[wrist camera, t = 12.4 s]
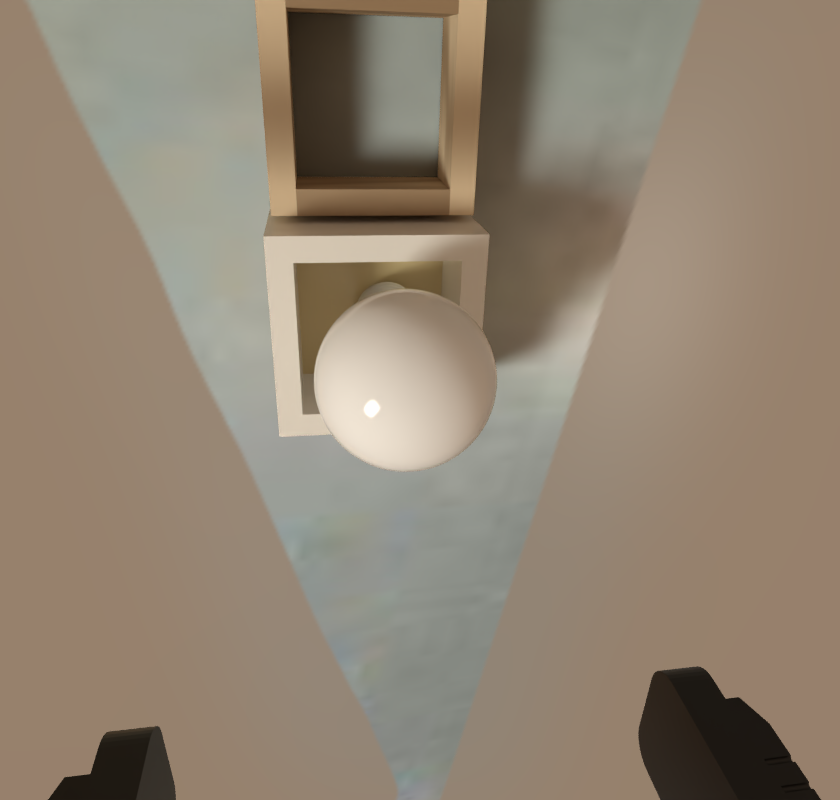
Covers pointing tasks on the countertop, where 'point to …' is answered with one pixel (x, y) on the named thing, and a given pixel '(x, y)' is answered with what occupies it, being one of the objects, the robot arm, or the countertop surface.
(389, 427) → the lightbulb
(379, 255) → the cream open cubby box
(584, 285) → the countertop surface
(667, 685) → the robot arm
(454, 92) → the wooden frame
